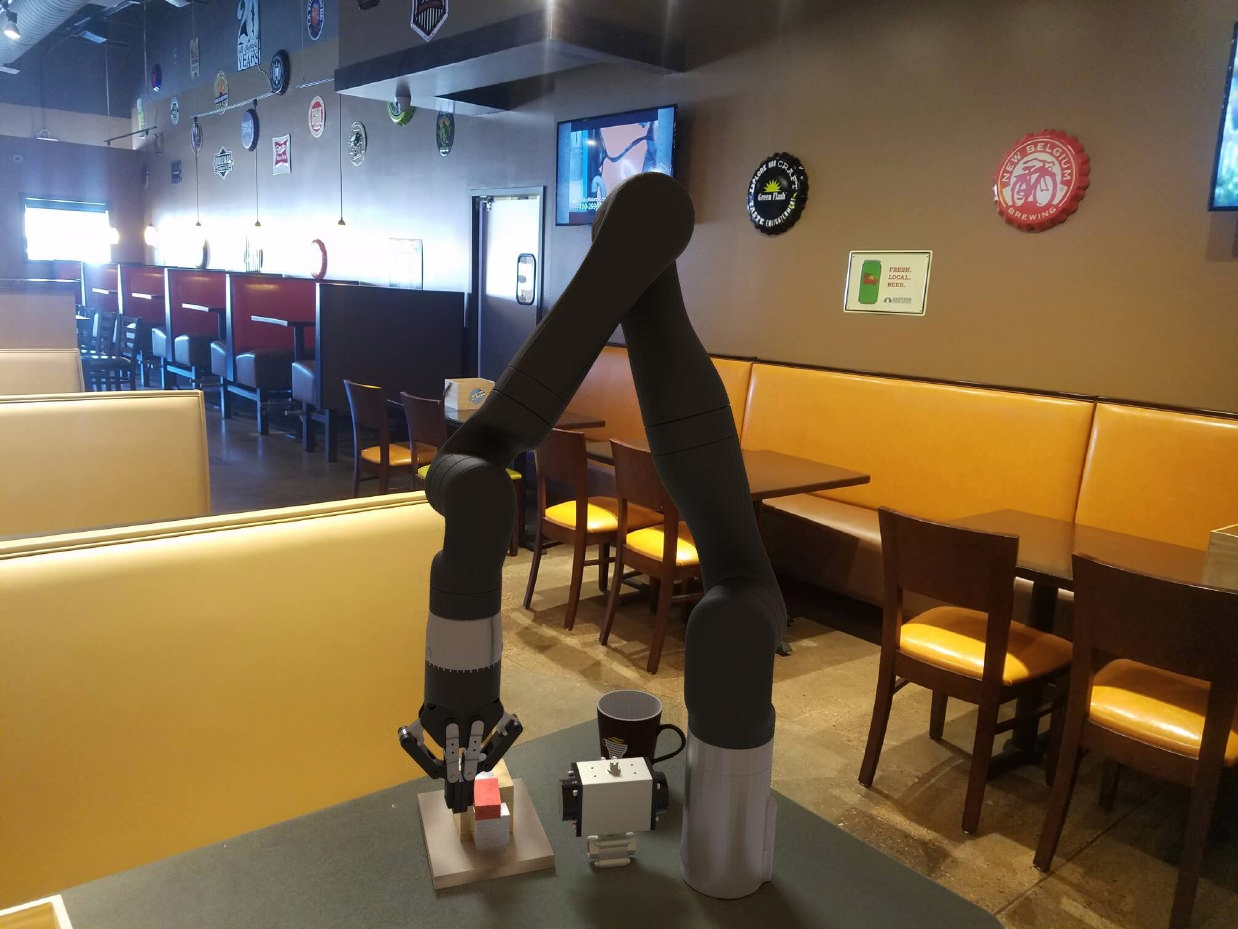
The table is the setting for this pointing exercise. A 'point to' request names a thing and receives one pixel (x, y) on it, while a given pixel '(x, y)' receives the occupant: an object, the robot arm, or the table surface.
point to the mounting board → (461, 859)
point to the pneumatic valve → (612, 805)
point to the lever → (486, 796)
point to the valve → (493, 831)
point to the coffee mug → (632, 725)
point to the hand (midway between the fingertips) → (458, 808)
